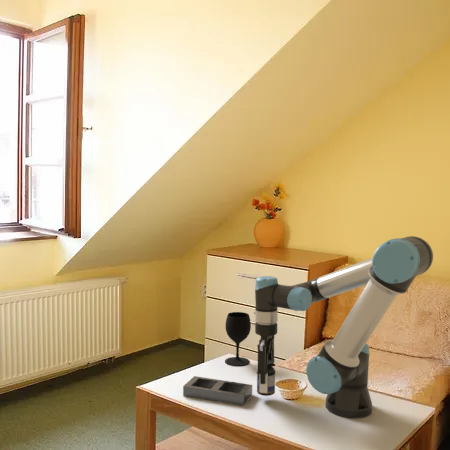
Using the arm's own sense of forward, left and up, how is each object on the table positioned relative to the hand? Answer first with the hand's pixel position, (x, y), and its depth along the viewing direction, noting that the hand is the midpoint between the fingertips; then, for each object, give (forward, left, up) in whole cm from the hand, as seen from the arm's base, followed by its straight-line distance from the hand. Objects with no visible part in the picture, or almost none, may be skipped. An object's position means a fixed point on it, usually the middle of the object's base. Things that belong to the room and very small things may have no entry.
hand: (266, 388), depth 179 cm
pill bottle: (0, 0, -2) cm, 2 cm away
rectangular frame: (+17, +2, -4) cm, 17 cm away
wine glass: (+21, -32, -4) cm, 39 cm away
